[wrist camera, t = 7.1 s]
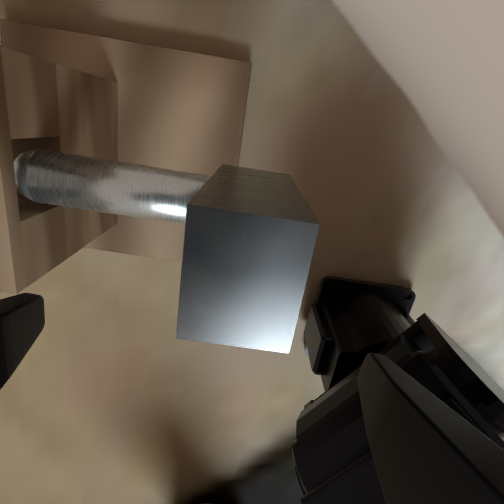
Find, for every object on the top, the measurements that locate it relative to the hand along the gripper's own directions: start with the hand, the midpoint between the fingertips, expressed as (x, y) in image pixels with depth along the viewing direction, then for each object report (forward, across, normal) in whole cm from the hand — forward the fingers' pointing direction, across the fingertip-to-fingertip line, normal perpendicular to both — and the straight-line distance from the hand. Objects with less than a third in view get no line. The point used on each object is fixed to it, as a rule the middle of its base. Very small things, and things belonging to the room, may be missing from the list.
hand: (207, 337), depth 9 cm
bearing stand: (+13, +7, -2) cm, 15 cm away
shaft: (+6, +3, -2) cm, 7 cm away
